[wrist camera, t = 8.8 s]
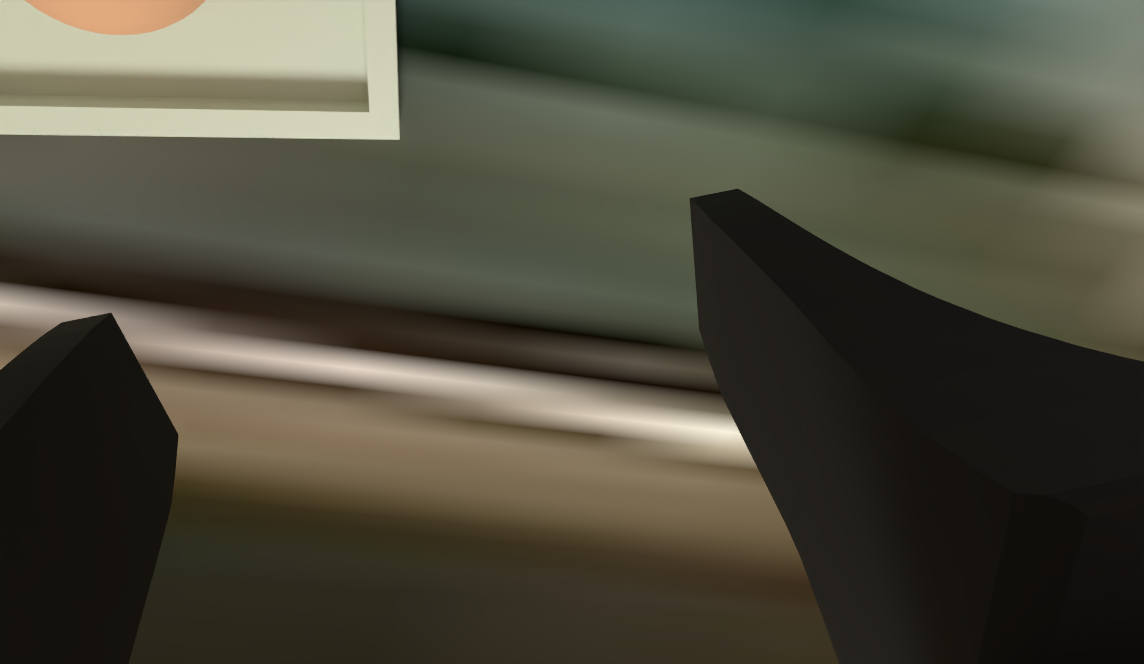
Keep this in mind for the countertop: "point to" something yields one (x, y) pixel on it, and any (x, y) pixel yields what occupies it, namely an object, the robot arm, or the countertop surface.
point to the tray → (207, 73)
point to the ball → (117, 14)
